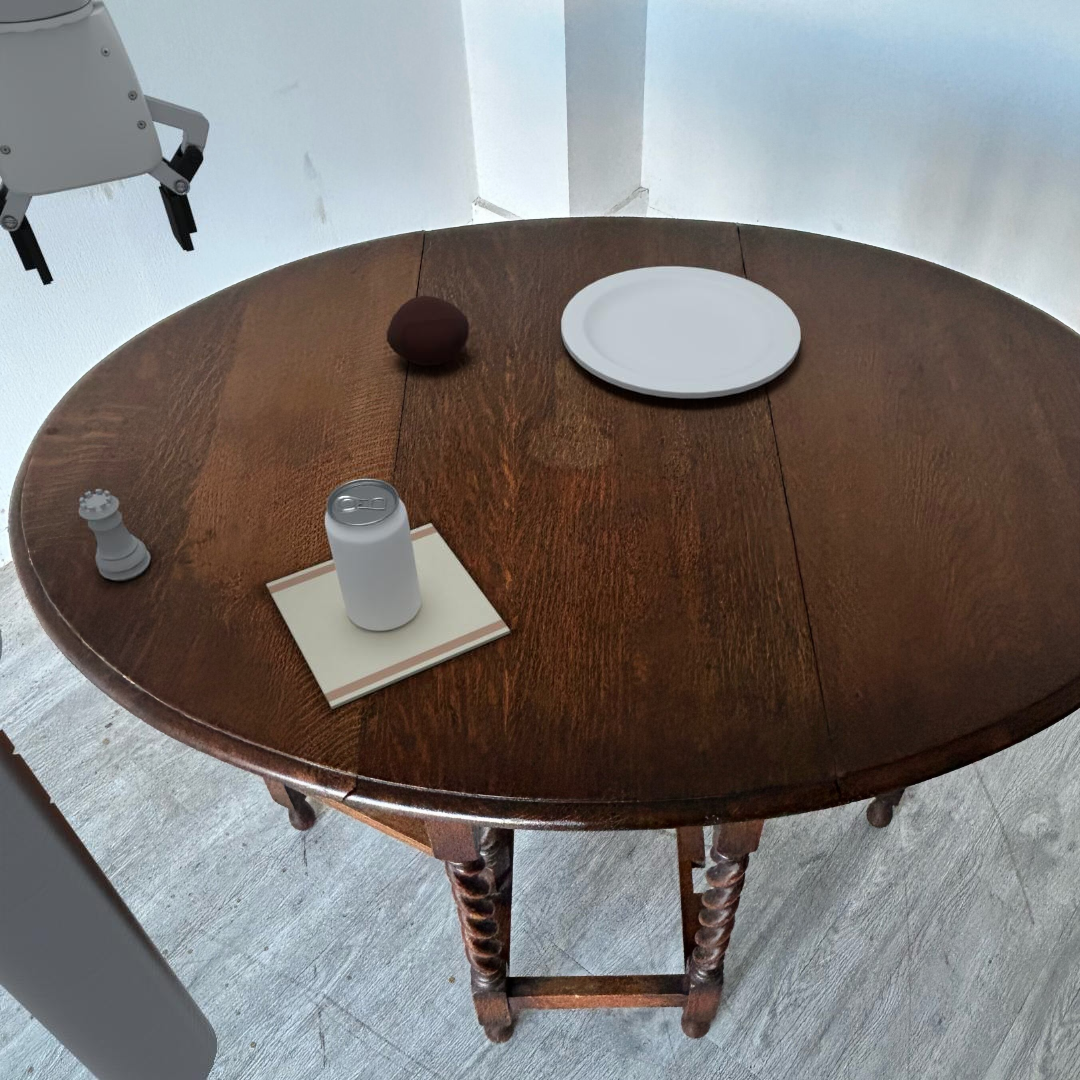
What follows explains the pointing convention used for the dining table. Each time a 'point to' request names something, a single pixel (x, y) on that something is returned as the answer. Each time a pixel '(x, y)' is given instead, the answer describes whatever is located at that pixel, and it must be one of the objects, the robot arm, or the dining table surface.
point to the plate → (680, 332)
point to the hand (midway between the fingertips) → (116, 259)
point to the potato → (428, 331)
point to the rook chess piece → (113, 538)
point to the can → (373, 554)
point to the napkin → (389, 656)
